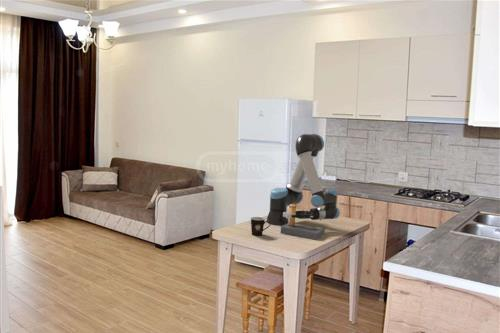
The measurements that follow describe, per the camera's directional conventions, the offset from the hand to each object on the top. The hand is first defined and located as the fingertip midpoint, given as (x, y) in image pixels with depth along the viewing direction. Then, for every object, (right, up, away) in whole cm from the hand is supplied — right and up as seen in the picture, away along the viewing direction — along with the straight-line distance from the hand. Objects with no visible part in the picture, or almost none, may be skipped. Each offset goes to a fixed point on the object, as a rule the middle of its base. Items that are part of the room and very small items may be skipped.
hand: (284, 215), depth 278 cm
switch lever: (+4, -11, +3) cm, 12 cm away
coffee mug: (-16, -11, -7) cm, 21 cm away
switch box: (+11, -12, 0) cm, 16 cm away
